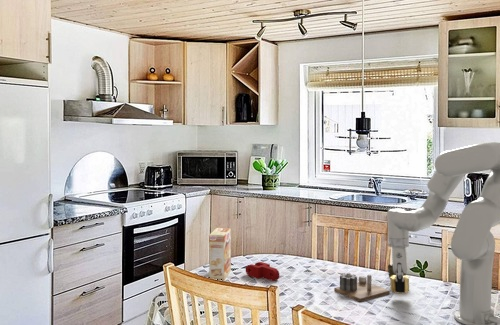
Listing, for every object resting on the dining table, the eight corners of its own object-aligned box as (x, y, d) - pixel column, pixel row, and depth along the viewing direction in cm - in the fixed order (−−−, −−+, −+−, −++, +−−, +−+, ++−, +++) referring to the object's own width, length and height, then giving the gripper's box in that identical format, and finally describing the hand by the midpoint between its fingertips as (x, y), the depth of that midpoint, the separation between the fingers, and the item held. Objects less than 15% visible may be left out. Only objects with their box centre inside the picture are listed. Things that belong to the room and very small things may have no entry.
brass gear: (408, 288, 181) (408, 275, 180) (409, 293, 174) (409, 280, 174) (390, 287, 182) (390, 274, 182) (390, 292, 176) (390, 279, 176)
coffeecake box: (224, 280, 202) (224, 235, 200) (208, 279, 203) (208, 234, 202) (231, 270, 217) (231, 227, 215) (216, 269, 218) (216, 227, 216)
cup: (407, 288, 190) (407, 269, 189) (388, 287, 192) (388, 268, 191) (405, 282, 197) (405, 264, 197) (386, 281, 199) (387, 263, 198)
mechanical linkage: (245, 275, 210) (245, 264, 209) (257, 271, 215) (257, 260, 214) (271, 283, 198) (271, 271, 198) (283, 279, 203) (283, 268, 203)
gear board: (389, 293, 185) (389, 275, 184) (359, 301, 176) (360, 282, 176) (363, 283, 197) (363, 266, 196) (334, 290, 188) (334, 273, 188)
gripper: (410, 247, 168) (411, 296, 169) (407, 237, 185) (409, 282, 186) (388, 246, 170) (389, 295, 171) (387, 237, 187) (389, 282, 188)
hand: (399, 288), depth 178 cm, fingers closed on brass gear, 6 cm apart
